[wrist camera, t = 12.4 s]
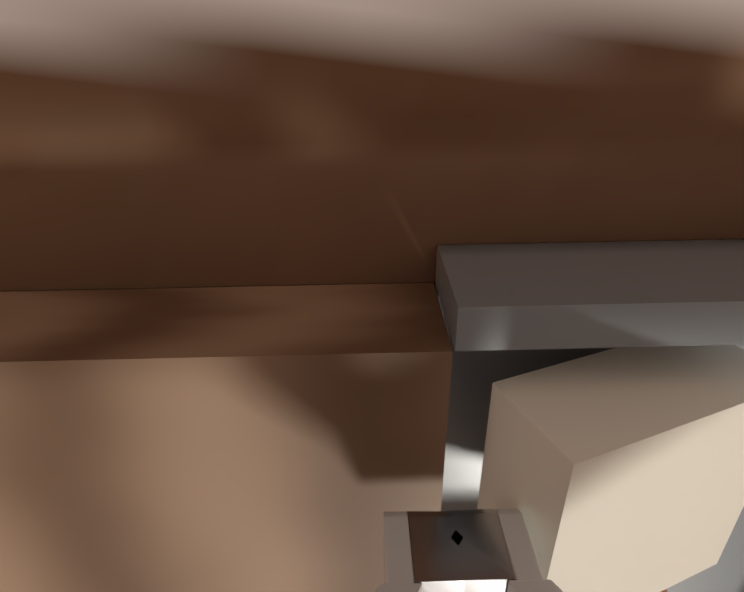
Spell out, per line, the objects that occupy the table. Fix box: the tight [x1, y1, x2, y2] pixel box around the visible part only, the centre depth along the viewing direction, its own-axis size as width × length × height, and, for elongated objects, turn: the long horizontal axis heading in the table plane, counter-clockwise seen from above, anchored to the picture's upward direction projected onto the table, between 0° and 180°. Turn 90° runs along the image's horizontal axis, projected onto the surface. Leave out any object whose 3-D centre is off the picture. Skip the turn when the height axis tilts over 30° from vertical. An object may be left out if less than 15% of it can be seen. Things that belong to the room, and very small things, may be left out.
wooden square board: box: [0, 283, 453, 592], centre depth 16 cm, size 16×16×3 cm
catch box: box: [435, 239, 744, 592], centre depth 16 cm, size 13×18×3 cm
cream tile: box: [477, 345, 744, 592], centre depth 13 cm, size 6×6×2 cm
